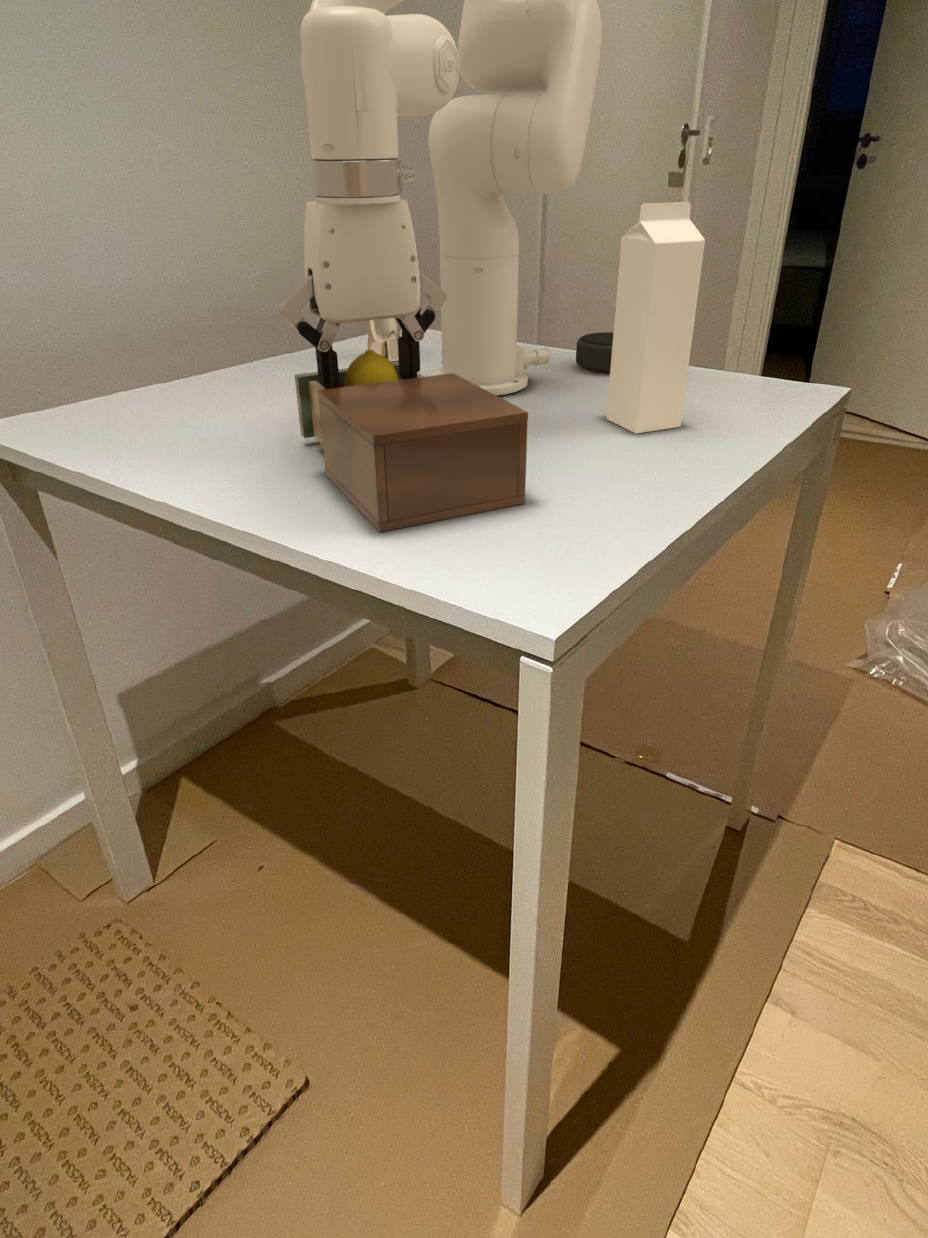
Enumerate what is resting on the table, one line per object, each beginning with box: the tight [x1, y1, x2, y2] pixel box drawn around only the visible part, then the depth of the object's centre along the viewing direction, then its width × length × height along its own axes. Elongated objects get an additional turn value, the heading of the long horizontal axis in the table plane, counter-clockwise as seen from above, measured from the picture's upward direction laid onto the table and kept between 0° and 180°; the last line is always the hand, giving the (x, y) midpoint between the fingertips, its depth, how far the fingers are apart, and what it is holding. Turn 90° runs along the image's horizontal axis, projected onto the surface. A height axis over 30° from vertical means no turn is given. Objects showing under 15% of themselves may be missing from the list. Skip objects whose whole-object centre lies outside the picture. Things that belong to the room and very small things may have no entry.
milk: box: [606, 201, 706, 435], centre depth 85 cm, size 6×6×22 cm
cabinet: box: [318, 373, 529, 533], centre depth 72 cm, size 15×14×8 cm
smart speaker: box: [575, 331, 614, 375], centre depth 112 cm, size 9×9×4 cm
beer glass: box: [365, 318, 402, 363], centre depth 115 cm, size 7×7×15 cm
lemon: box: [345, 349, 399, 387], centre depth 81 cm, size 6×6×8 cm
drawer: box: [294, 361, 425, 447], centre depth 83 cm, size 21×12×6 cm, turn 26°
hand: (370, 384), depth 80 cm, fingers open, 7 cm apart
